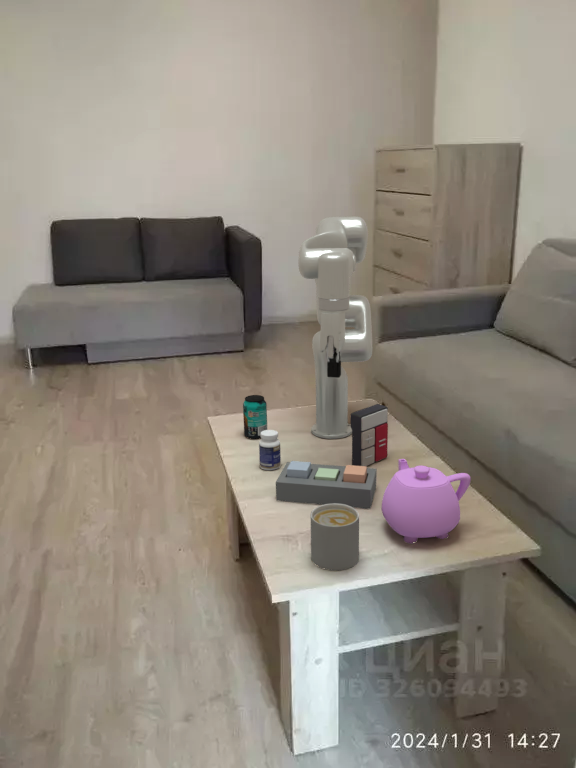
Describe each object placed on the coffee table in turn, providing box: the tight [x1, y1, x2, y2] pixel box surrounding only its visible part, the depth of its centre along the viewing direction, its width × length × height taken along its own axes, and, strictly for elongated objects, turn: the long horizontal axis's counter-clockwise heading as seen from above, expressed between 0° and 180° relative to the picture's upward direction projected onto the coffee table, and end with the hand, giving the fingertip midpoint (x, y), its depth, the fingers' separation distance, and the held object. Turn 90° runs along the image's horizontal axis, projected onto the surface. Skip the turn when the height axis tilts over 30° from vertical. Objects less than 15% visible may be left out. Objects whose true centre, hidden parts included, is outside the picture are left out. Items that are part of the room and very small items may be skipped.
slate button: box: [287, 460, 312, 479], centre depth 176 cm, size 5×5×5 cm
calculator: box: [350, 403, 389, 467], centre depth 191 cm, size 11×4×15 cm, turn 131°
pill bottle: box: [258, 429, 282, 471], centre depth 190 cm, size 6×6×10 cm
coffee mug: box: [310, 503, 360, 571], centre depth 148 cm, size 13×10×10 cm
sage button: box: [315, 468, 339, 481], centre depth 175 cm, size 5×5×5 cm
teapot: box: [380, 458, 472, 544], centre depth 158 cm, size 20×20×15 cm
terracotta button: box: [343, 464, 368, 484], centre depth 173 cm, size 5×5×5 cm
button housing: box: [275, 461, 377, 510], centre depth 175 cm, size 12×23×5 cm, turn 77°
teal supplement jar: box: [242, 394, 268, 440], centre depth 212 cm, size 7×7×12 cm
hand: (334, 376), depth 178 cm, fingers closed
